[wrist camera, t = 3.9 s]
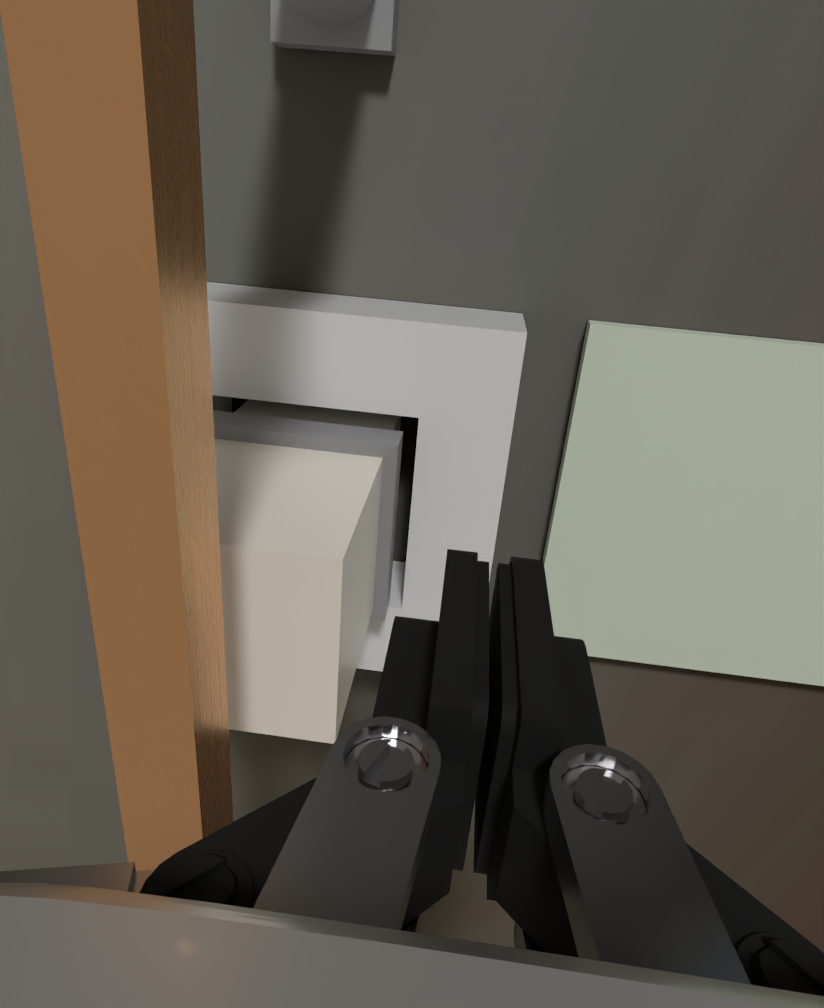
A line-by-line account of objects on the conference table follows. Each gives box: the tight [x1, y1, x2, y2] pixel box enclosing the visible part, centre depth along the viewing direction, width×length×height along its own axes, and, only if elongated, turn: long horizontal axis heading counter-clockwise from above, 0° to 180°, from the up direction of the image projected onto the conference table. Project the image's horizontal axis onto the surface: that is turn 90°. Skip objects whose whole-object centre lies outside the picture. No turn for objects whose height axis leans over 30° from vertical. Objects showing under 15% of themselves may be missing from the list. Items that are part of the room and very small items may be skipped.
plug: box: [213, 399, 403, 744], centre depth 19 cm, size 6×6×10 cm
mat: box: [543, 320, 824, 686], centre depth 23 cm, size 12×12×1 cm
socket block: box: [207, 0, 527, 672], centre depth 16 cm, size 12×22×12 cm, turn 175°
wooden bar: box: [0, 0, 233, 871], centre depth 10 cm, size 20×3×2 cm, turn 175°
